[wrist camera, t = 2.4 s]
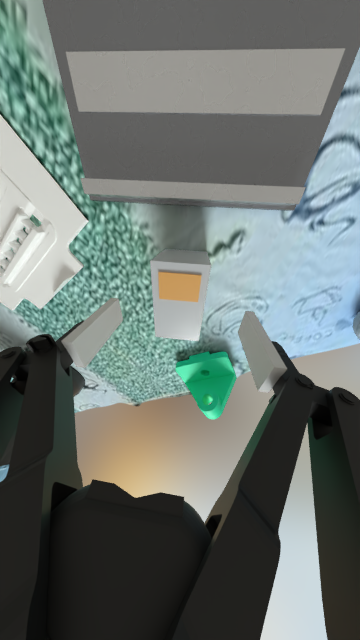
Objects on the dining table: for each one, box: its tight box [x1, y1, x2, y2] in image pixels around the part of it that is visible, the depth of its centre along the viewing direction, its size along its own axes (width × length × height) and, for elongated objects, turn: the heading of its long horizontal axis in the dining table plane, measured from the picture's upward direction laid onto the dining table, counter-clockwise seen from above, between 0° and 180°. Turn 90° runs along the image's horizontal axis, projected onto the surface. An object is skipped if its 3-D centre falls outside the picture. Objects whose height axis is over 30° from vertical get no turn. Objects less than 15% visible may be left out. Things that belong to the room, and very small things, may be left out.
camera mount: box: [176, 351, 236, 419], centre depth 30 cm, size 12×8×10 cm, turn 116°
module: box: [150, 249, 211, 341], centre depth 20 cm, size 6×10×8 cm, turn 177°
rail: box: [43, 0, 360, 211], centre depth 12 cm, size 24×16×3 cm, turn 87°
